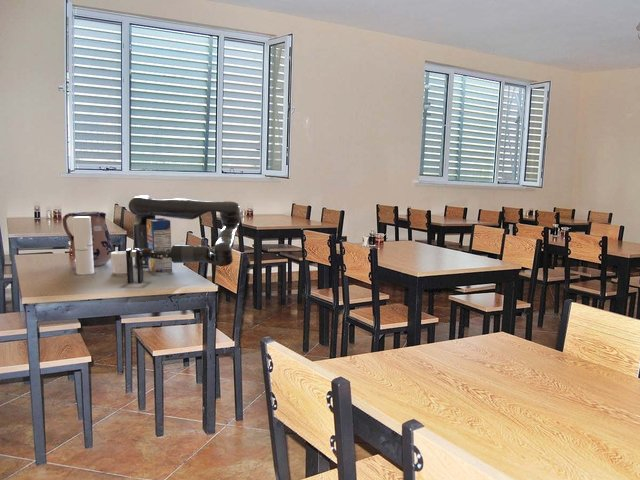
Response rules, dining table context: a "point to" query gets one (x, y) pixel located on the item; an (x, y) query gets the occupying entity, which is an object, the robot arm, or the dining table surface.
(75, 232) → the cylindrical container
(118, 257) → the white cup
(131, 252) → the lever
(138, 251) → the bracket
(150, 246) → the juice carton
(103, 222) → the ceramic pitcher
